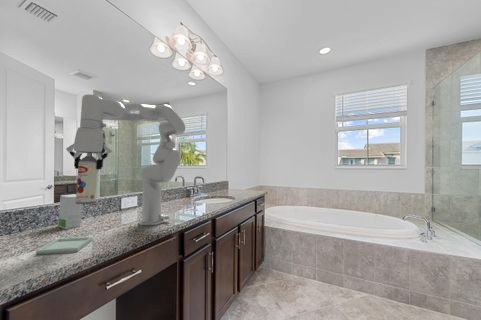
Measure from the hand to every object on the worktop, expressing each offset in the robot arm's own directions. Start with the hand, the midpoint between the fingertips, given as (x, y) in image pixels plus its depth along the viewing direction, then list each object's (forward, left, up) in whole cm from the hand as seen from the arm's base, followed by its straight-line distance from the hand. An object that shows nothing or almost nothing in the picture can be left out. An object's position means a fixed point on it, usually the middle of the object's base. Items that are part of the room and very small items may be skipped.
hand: (88, 168), depth 85 cm
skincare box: (+17, -25, -30) cm, 43 cm away
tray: (+4, +5, -30) cm, 30 cm away
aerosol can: (0, 0, -14) cm, 14 cm away
